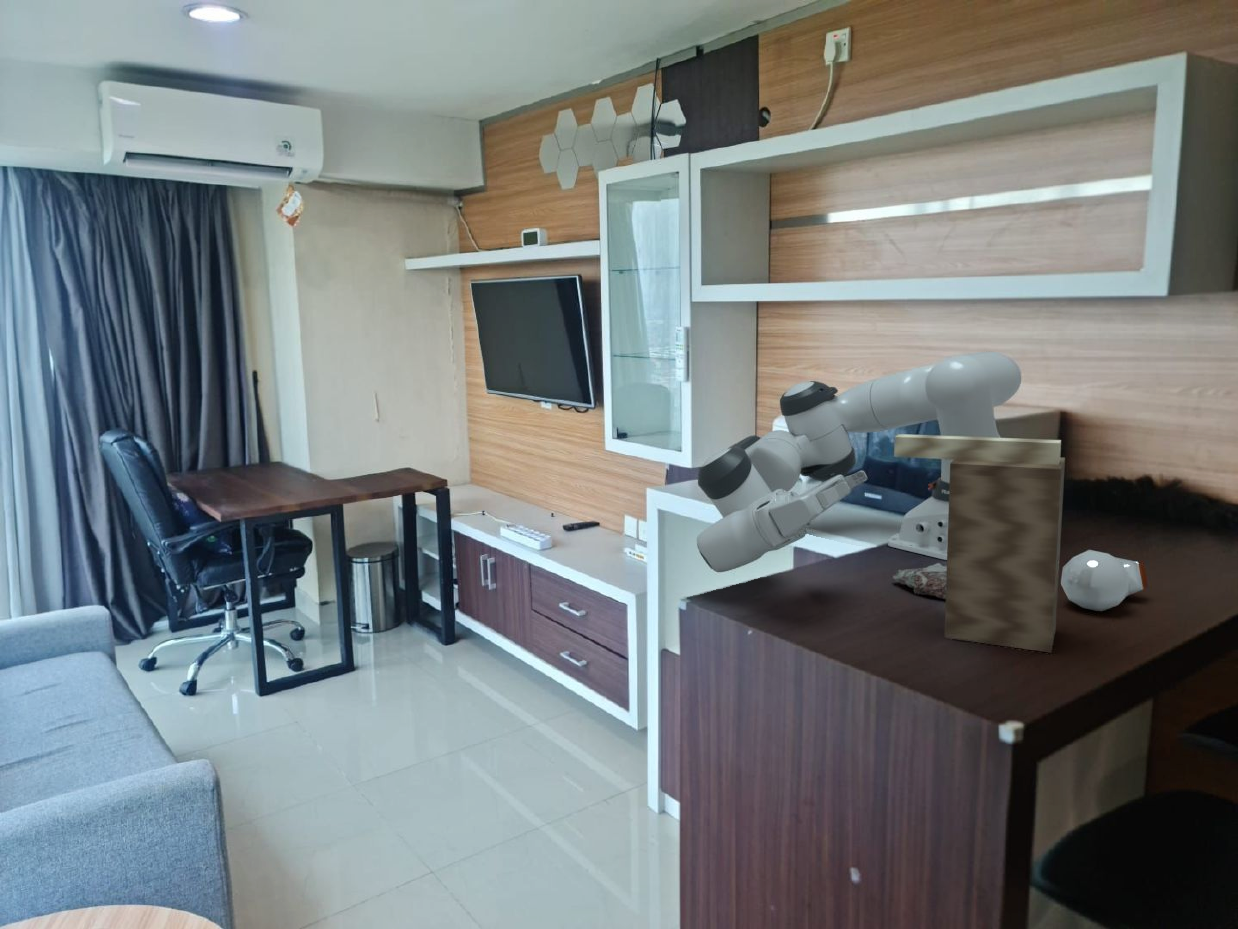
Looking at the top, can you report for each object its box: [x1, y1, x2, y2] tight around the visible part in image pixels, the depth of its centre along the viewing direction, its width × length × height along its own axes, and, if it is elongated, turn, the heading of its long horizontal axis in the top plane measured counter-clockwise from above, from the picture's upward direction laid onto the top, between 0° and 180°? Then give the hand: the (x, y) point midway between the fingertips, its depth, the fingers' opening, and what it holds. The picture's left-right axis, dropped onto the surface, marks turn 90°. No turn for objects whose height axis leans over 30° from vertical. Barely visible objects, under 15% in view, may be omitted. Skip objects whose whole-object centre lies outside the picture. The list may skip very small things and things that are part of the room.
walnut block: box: [944, 456, 1066, 654], centre depth 125 cm, size 14×10×26 cm
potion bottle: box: [1060, 549, 1149, 613], centre depth 137 cm, size 9×10×15 cm
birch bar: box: [893, 433, 1062, 465], centre depth 124 cm, size 22×3×3 cm, turn 60°
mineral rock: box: [892, 562, 947, 600], centre depth 146 cm, size 15×8×4 cm, turn 25°
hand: (857, 480), depth 133 cm, fingers open, 8 cm apart
